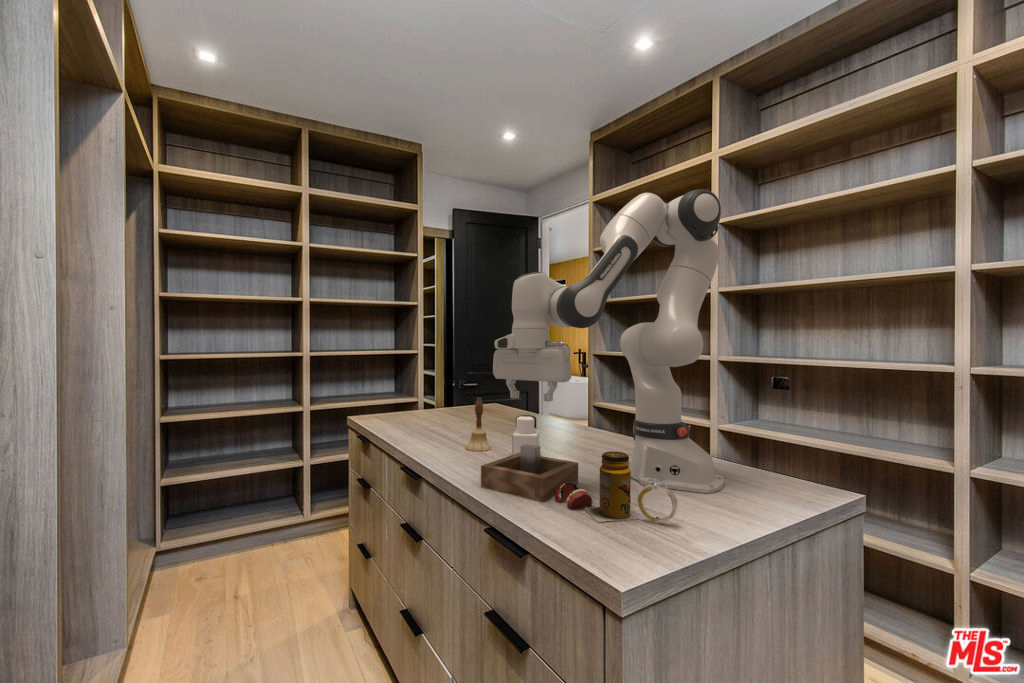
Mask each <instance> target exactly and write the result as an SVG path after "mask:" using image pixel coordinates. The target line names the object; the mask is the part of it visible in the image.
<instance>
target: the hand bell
mask: <svg viewBox="0 0 1024 683" xmlns="http://www.w3.org/2000/svg"><path fill="white" fill-rule="evenodd" d="M474 412H475V417H476V421H475V426H476V427H475V429H474V430H472V431H471V435H470V439H469V442H468V443H467V445H466V446H465V450H467V451H470V452H487V451H490V450H492V449H491V448H492V445H491V444H490V443H489V441H488V439H487V432H486V431H485V430H484V429H482V416H483V412H484V404H483V400H482V397H477V398H476V402H475V405H474ZM486 450H487V451H486Z"/></svg>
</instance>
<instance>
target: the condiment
mask: <svg viewBox="0 0 1024 683" xmlns="http://www.w3.org/2000/svg"><path fill="white" fill-rule="evenodd" d="M629 459H630V456H629V454H627V453H626V452H622V451H614V450H613V451H605V452H603V453H602V455H601V461H600V462H601V466H600V467H599V506H594V507H591V506H588V507H583V509H584V510H585V512H587V514H589V516H590V517H591V518H592V519H594V521H596V522H597V523H601V522H604V523H605V522H612V521H613V522H615V521H617V522H618V521H621V522H622V521H629V520H630V521H631V520H637V519H639V517H637V516H636V515H635V514H633V513H632V512H631V503H632V502H631V498H632V497H631V487H632V485H631V480H632V479H631V478H632V477H631V470H630V462H629Z"/></svg>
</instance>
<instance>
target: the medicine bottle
mask: <svg viewBox="0 0 1024 683" xmlns="http://www.w3.org/2000/svg"><path fill="white" fill-rule="evenodd" d="M525 444H529V445H535V446H540V431H539V430H537V417H536V416H534V415H529V414H521V415H517V417H516V418H515V431H514V432H513V434H512V450H511V451H512V454H511V455H514V454H517V453H520V446H522V445H525Z"/></svg>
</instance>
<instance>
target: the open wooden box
mask: <svg viewBox="0 0 1024 683" xmlns="http://www.w3.org/2000/svg"><path fill="white" fill-rule="evenodd" d="M540 474H541V475H539V474H534V473H529V472H524V471H520V453H517V454H514V455H512V454H511V455H509V456H506V457H503V458H500V459H497V460H495V461H491V462H488V463H485V464H482V465H480V487H481V488H483V489H487V490H491V491H496V492H500V493H504V494H509V495H513V496H516V497H521V498H523V499H524V498H525V499H529V500H534V501H538V502H542V503H544V502H546V501H547V500H550V499H551V498H554V497H555V492H556V489H557V487H558V486H559V485H560V484H562V483H568V482H571V483H574V484H576V485H578V484H579V462H577V461H571V460H566V459H561V458H560V459H559V458H554V457H553V458H552V457H548V456H542V455H540Z"/></svg>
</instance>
